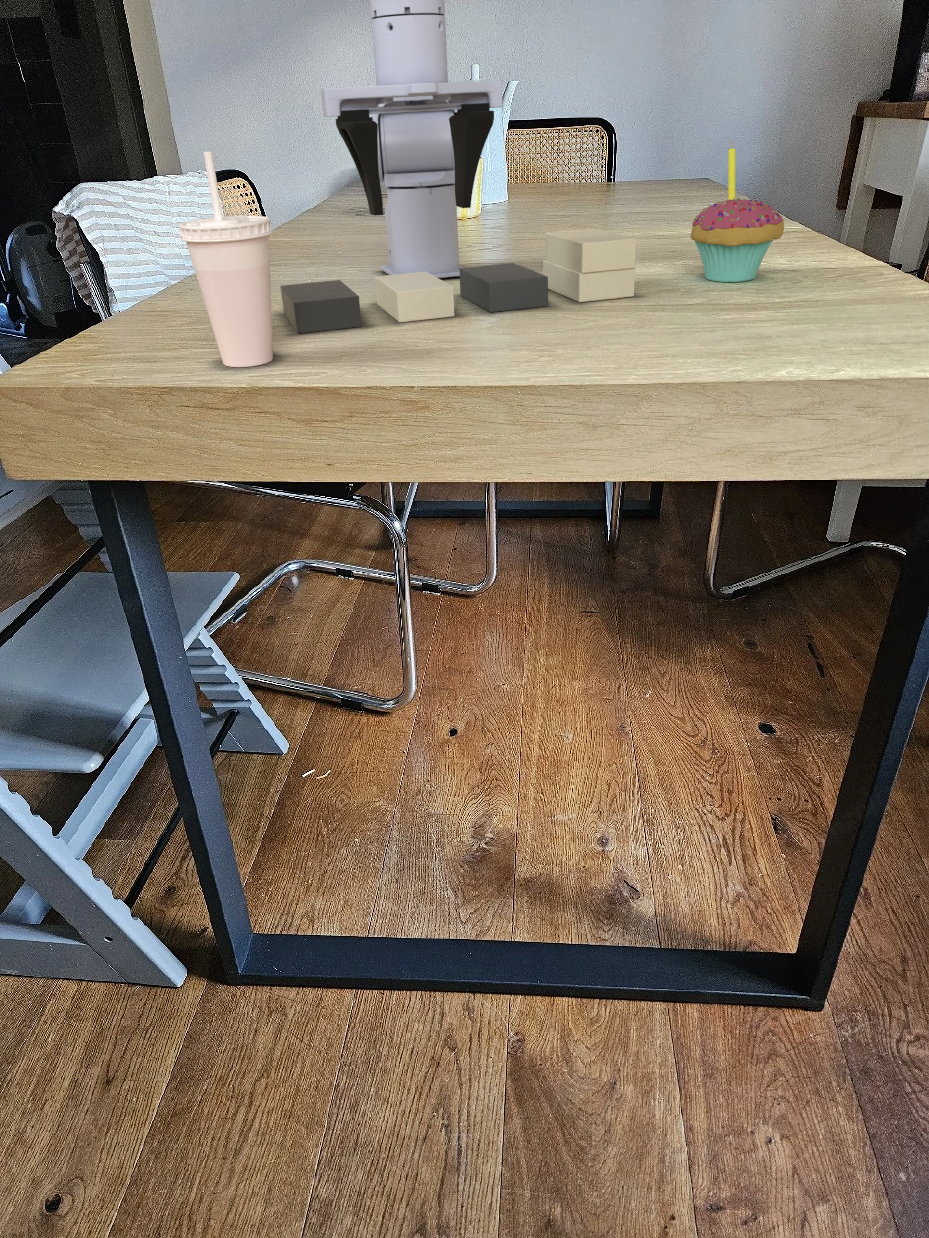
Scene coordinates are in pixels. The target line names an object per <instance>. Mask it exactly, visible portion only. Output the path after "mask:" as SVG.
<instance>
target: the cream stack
mask: <svg viewBox="0 0 929 1238" xmlns="http://www.w3.org/2000/svg"><path fill="white" fill-rule="evenodd" d="M636 253H637V237H633V236H628V235H625V234H620V233H616V232H613V231H607V230H604V229H599V228H595V227H593V228H584V229H571V230H559V231H550V232H545V259H543V260H542V275H545V276H547V277H548V291H552V292H554V293H557V294H559V295H561V296H564V297H566V298H568V299H571V300H573V301H574V302H577V303H587V302H594V301H595V302H597V301H604V300H606V301H607V300H615V299H622V298H632V297H635V284H636V257H637V256H636V255H637V254H636Z"/></svg>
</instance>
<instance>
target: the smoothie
mask: <svg viewBox="0 0 929 1238" xmlns="http://www.w3.org/2000/svg"><path fill="white" fill-rule="evenodd" d="M213 156H214V155H213V151H211V150H209V151H203V157H204V163H205V170H206V175H207V181H208V188H209V193H210V199H211V205H212V210H213V217H208V218H207V217H206V218H199V219H194V220H188V221H184V222H182V223H180V224H179V225H178V227H179V228H178V229H179V235H180V238H179V239H180V240H181V241H183V242H185V243H186V246H187V249H188V254H189V257H190V259H191V264H192V267H193V270H194V273H195V276H196V279H197V281H198V286H199V289H200V292H201V296H202V299H203V302H204V305H205V309H206V311H207V315H208V318H209V321H210V324H211V328H212V332H213V334H214V338H215V341H216V344H217V348H218V351H219V354H220V357H221V361H222V364H223V365H224V366H226V367H232V368H249V367H255V366H260V365H265V364H267V363H270V362H271V361H273V360H274V353H273V352H274V349H273V319H272V316H273V315H272V290H271V289H272V287H271V257H270V255H271V254H270V235H273V233H274V230H273V228H272V222H271V220H272V219H271V218H270V217H268V216H264V215H245V214H244V215H243V214H242V215H241V214H239V215H232V216H231V215H229V216H223V210H222V205H221V198H220V192H219V186H218V180H217V174H216V173H217V172H216V168H215V162H214V157H213Z"/></svg>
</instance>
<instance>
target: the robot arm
mask: <svg viewBox="0 0 929 1238" xmlns="http://www.w3.org/2000/svg"><path fill="white" fill-rule="evenodd" d="M369 5H370V6H369V8H370V20H371V30H372V45H373V53H374V54H373V55H374V68H375V69H374V70H375V80H376V85H370V86H369V85H365V86H351V87H331V88H330V87H329V88H327V87H326V88H321V89H320V95H321V96H320V97H321V105H322V112H323V117H324V118H333V117H337V118H335V125H336V128H337V130H338V133H339V135H340V137H341V139H342V141H343V142H344V144H345V147H346V148H347V150H348V152H349V154H350V156H351V158H352V161H353V163H354V165H355V169H356V170H357V173H358V176H359V178H360V181H361V183H362V186H363V190H364V194H365V198H366V200H367V206H368V211H369V214H370V215H373V216H384V218H385V232H386V244H387V254H388V264H383V265H380V270H381V271H382V272H384V273H386V275H396V274H406V273H416V272H428V273H430V274H431V275H433V276H435V277H437V278H439V279H444V278H454V277H460V272H459V268H466V267H465V266H463V265H460V253H459V252H460V251H459V250H460V249H459V229H458V208H460V209H471V208H472V197H473V190H474V186H475V180H476V175H477V170H478V167H479V162H480V160H481V157H482V153H483V150H484V147H485V144H486V142H487V140H488V137H489V134H490V132H491V130H492V127H493V126H494V120H495V111H494V110H490V109H498V108H501V109H502V108H503V80H499V79H498V80H478V81H476V80H475V81H453V82H452V81H451V82H450V81H449V72H448V71H449V70H448V51H447V33H446V31H447V29H446V16H445V15H446V7H445V0H369ZM381 183H384V187H385V188H386V193H387V195H386V196H387V200H386V202H385V207H384V202H383V194H382V187H381V186H382V185H381Z"/></svg>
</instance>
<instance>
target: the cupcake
mask: <svg viewBox="0 0 929 1238" xmlns="http://www.w3.org/2000/svg"><path fill="white" fill-rule="evenodd" d="M729 142H730V143H729V146H730V147H729V149H728V151H727V178H728V179H727V185H728V186H727V187H728V188H727V199H725V200H723V201H716V202H715V203H713V204H712V205H711V204H709V206H707V207H706V208H705V207H704V208H703V209H702V211H700V212H699V213H698V215H696V216H695V217H694V220H692V224H691V226H692V227H691V232H690V239H691V240H692V241H694V243H695V245H696V247H697V250H698V252H699V255H700V256H699V257H700V259H701V263H702V267H703V272H704V277H705V279H706V280H709V281H712V282H721V283H742V282H747V281H751V280H754V279H755V278H756V277H757V274H758V271H759V268H760V266H761V264H762V261H763V259H764V257H765V255H766V253H767V251H768V250H769V248H770V246H771V244H772V243H773V241H774V240H776V241H777V240H780V239H781V238H782V236H783V235H784V230H785V222H784V218H783V217H782V215H780V213H779V211H777V210H775V209H774V208H773V207H772V206H771V205H770V204H767V203H766V202H763V201H757V200H755V199H753V198H751V199H746V198H742V199H741V198H736V159H737V158H736V155H737V154H736V148H734V145H733V139H729Z"/></svg>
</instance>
